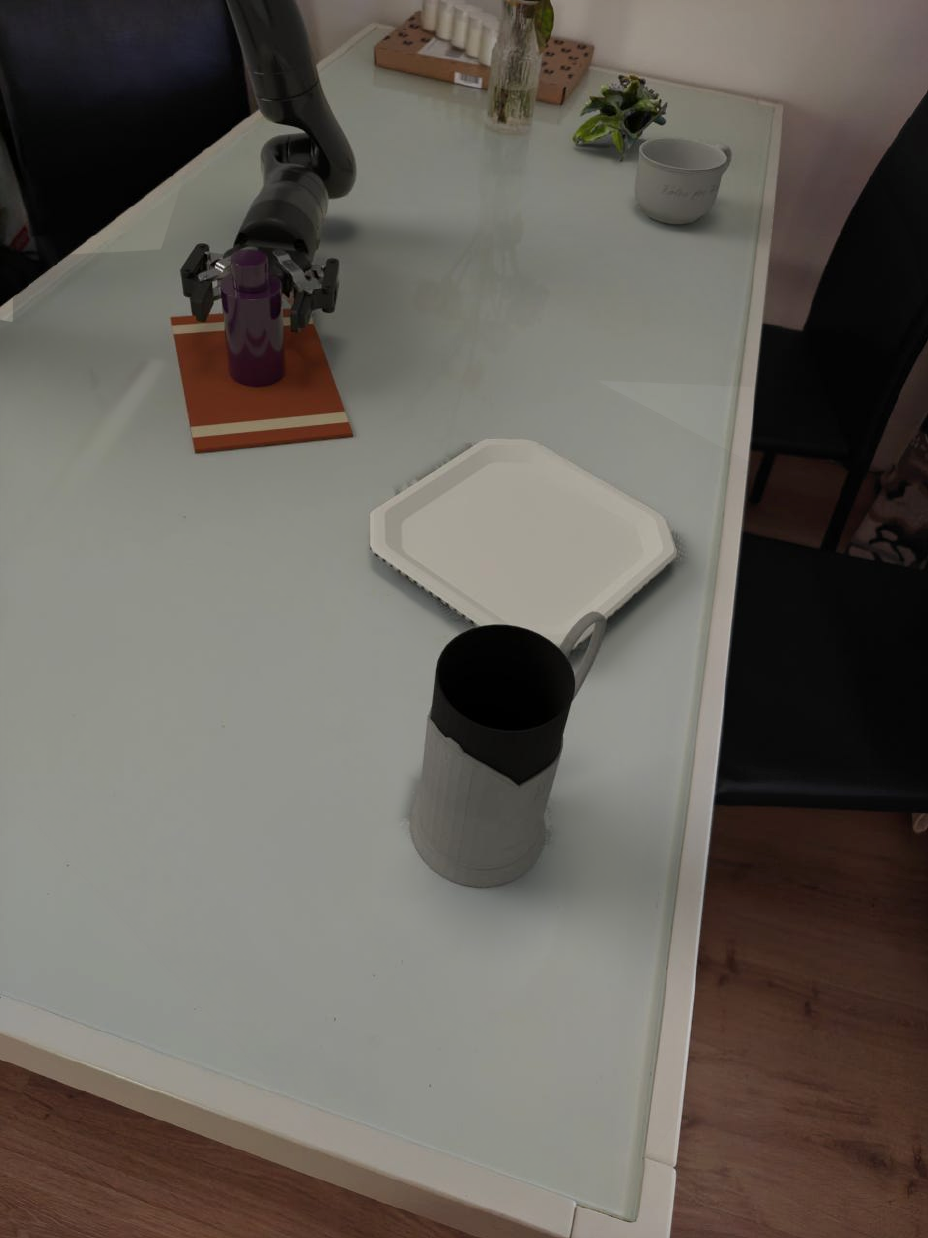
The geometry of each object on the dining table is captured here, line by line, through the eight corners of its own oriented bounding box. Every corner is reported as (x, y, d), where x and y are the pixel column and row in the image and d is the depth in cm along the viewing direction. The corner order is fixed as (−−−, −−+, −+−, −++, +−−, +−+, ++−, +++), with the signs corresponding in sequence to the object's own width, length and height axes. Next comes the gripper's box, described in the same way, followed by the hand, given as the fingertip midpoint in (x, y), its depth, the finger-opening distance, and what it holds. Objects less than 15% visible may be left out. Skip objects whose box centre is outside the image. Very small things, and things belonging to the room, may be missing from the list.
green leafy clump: (612, 177, 147) (670, 106, 142) (627, 195, 138) (690, 121, 133) (556, 125, 142) (615, 50, 137) (568, 140, 133) (631, 61, 128)
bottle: (240, 391, 93) (229, 277, 84) (220, 361, 96) (208, 248, 87) (294, 380, 95) (289, 267, 86) (273, 350, 98) (267, 238, 89)
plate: (342, 547, 80) (342, 527, 78) (503, 442, 91) (506, 422, 90) (542, 689, 72) (547, 669, 70) (692, 553, 83) (699, 534, 82)
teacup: (654, 237, 123) (670, 172, 117) (611, 199, 129) (624, 135, 123) (746, 225, 127) (765, 162, 121) (700, 188, 134) (716, 127, 128)
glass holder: (381, 825, 63) (389, 674, 52) (522, 702, 71) (555, 548, 60) (484, 915, 59) (516, 773, 49) (621, 775, 67) (675, 626, 56)
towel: (171, 320, 100) (170, 316, 100) (308, 310, 104) (308, 306, 104) (195, 453, 87) (194, 449, 86) (352, 436, 90) (352, 432, 90)
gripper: (206, 189, 97) (161, 270, 86) (351, 206, 97) (325, 288, 86) (213, 261, 102) (172, 346, 91) (351, 277, 103) (326, 363, 92)
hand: (247, 318), depth 89 cm, fingers open, 8 cm apart
